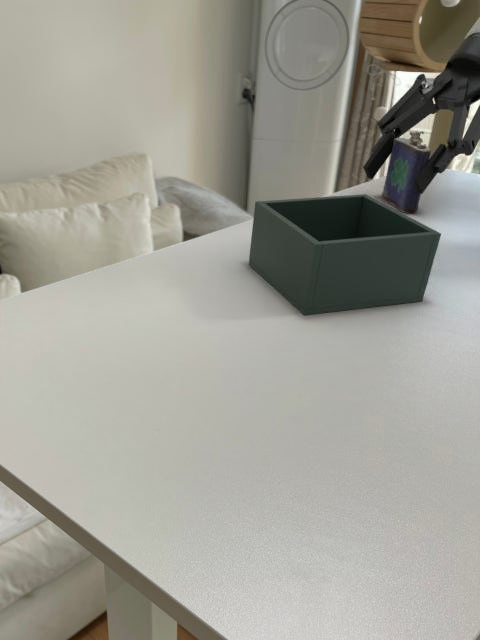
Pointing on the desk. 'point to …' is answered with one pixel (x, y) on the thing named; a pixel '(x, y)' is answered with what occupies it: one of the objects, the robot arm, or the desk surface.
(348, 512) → the desk surface
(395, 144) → the flask
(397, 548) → the desk surface
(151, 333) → the desk surface
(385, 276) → the bin
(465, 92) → the robot arm
